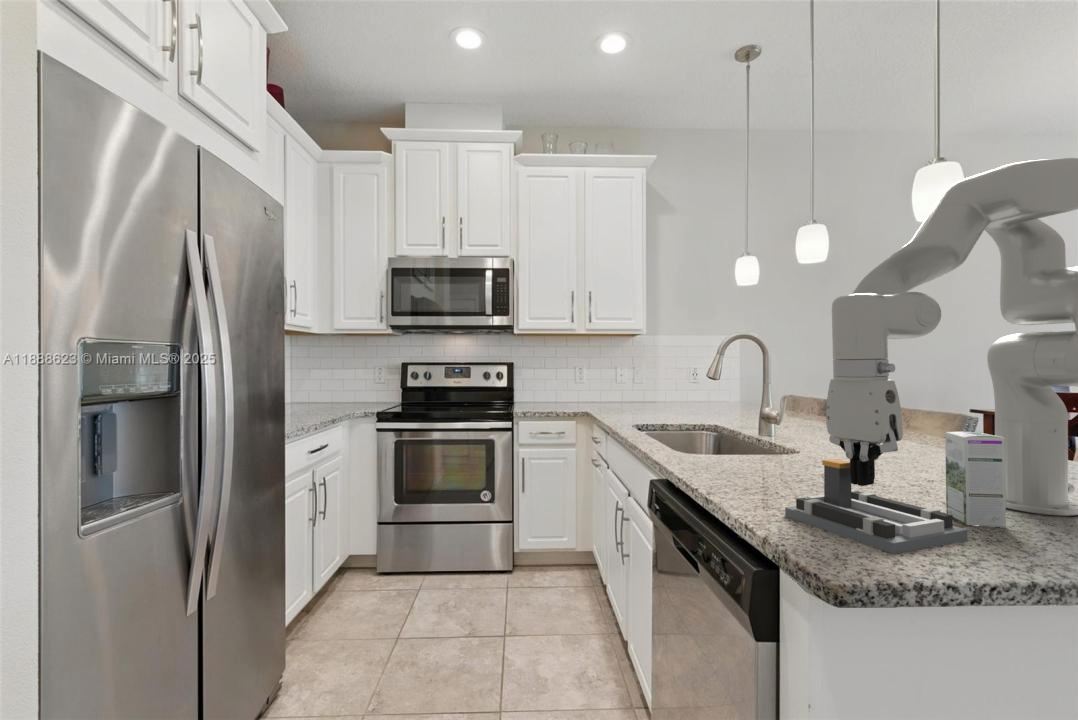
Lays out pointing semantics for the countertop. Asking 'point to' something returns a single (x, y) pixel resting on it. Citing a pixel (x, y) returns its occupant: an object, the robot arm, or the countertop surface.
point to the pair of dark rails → (865, 522)
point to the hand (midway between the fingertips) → (862, 483)
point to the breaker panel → (907, 527)
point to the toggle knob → (837, 482)
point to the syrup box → (975, 478)
